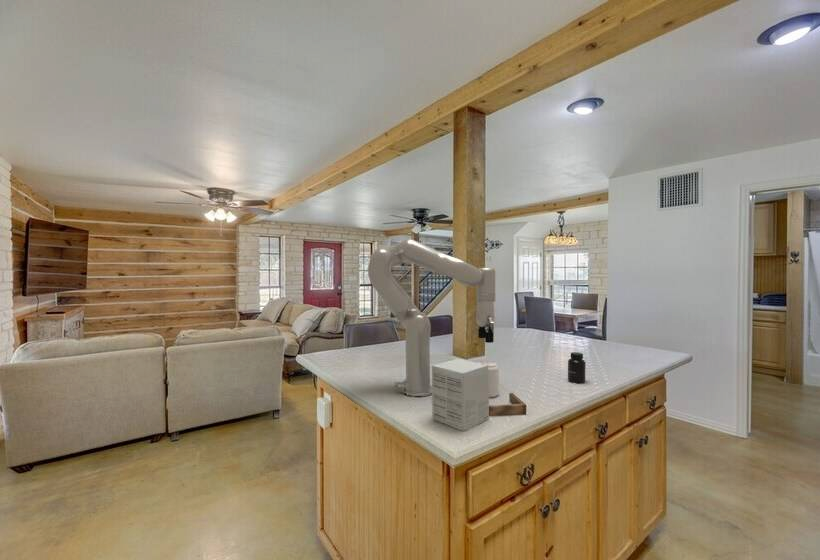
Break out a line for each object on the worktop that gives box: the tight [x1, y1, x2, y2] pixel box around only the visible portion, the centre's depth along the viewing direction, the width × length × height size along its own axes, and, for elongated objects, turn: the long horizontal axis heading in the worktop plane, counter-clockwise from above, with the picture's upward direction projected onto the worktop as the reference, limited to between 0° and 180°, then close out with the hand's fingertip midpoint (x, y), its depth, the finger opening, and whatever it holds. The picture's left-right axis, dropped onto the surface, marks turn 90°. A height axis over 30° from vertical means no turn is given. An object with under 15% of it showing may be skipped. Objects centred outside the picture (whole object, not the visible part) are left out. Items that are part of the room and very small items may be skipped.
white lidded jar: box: [478, 360, 500, 398], centre depth 139 cm, size 8×8×12 cm
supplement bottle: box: [567, 351, 587, 385], centre depth 154 cm, size 7×7×12 cm
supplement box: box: [431, 358, 490, 432], centre depth 116 cm, size 13×13×18 cm
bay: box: [489, 392, 527, 417], centre depth 125 cm, size 13×12×3 cm
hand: (485, 340), depth 148 cm, fingers open, 9 cm apart
